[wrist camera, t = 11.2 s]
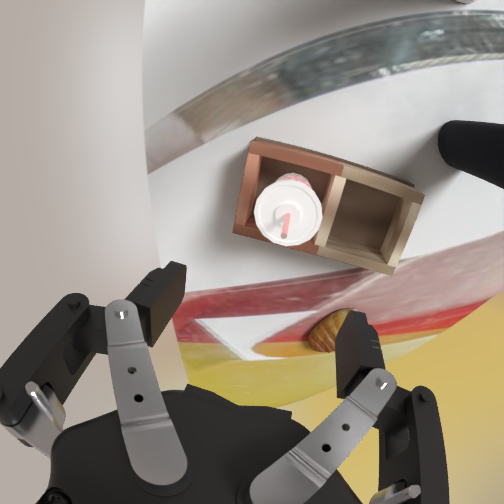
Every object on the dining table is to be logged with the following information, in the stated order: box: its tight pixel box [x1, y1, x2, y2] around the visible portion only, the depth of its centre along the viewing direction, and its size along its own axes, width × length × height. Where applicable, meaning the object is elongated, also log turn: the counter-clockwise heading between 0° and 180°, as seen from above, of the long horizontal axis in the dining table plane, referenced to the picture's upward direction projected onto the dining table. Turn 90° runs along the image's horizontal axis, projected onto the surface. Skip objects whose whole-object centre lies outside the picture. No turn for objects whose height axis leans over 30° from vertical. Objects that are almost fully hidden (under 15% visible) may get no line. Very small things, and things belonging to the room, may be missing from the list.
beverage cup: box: [254, 173, 323, 246], centre depth 26 cm, size 6×6×14 cm
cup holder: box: [232, 137, 425, 276], centre depth 31 cm, size 11×20×5 cm, turn 78°
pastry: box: [308, 309, 357, 353], centre depth 40 cm, size 9×7×4 cm
